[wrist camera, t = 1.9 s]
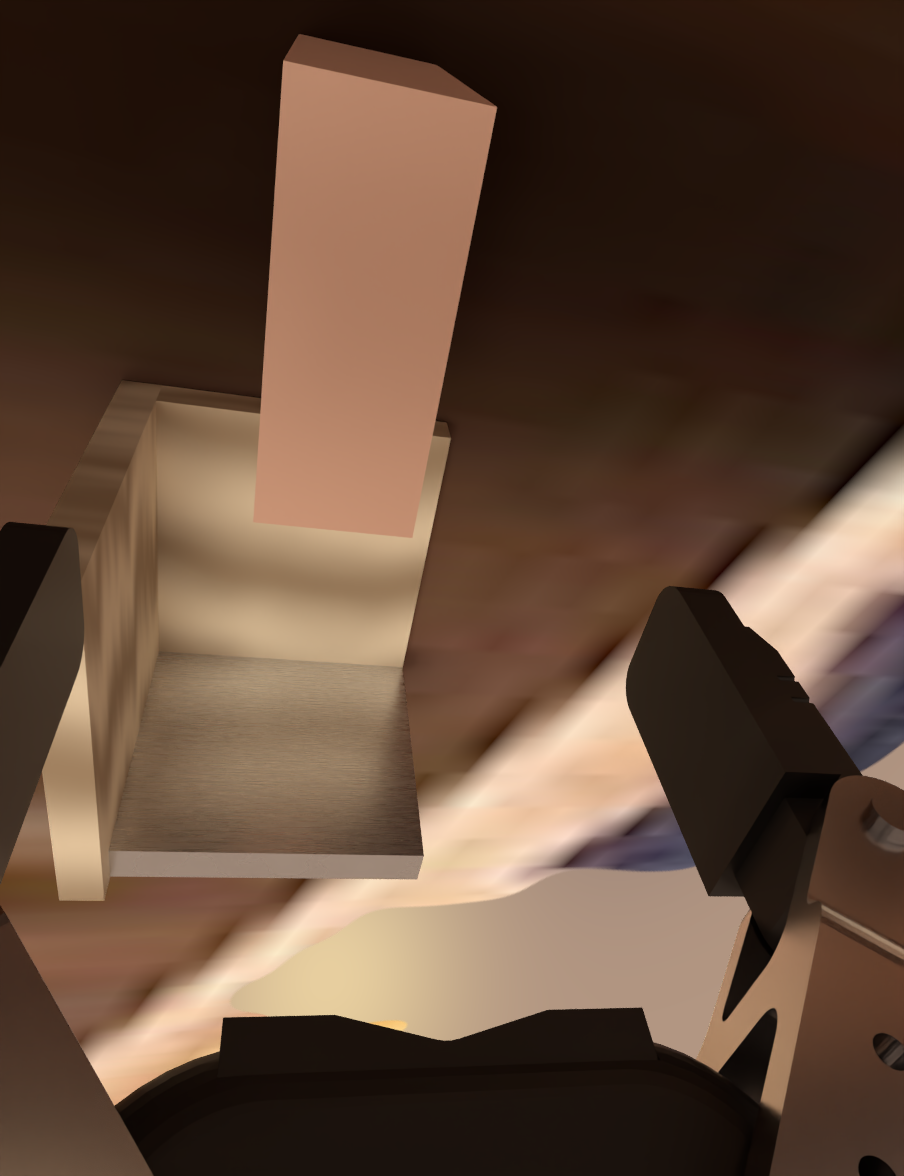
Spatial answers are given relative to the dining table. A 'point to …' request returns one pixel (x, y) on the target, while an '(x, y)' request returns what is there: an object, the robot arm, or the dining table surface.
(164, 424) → the plywood shelf
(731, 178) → the dining table surface
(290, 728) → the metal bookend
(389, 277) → the terracotta book
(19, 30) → the dining table surface
